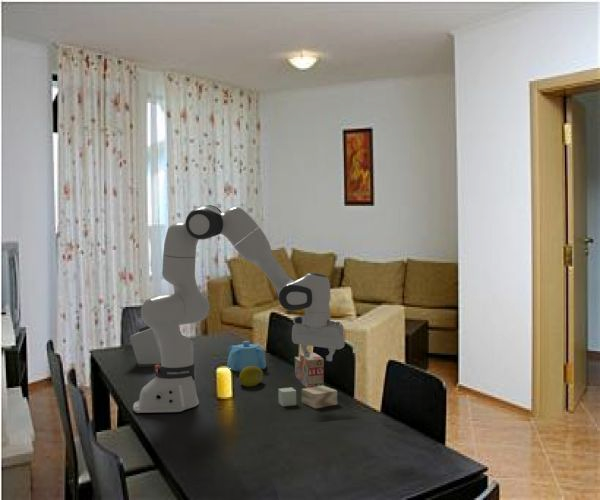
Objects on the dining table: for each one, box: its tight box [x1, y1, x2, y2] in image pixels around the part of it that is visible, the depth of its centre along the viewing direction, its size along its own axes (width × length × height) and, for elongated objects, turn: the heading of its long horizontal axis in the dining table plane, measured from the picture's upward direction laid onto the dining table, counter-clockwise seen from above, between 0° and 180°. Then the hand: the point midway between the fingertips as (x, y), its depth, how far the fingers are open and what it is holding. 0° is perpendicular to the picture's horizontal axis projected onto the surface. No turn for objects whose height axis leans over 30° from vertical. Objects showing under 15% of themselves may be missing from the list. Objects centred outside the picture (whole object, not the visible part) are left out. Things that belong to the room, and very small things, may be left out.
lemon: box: [238, 366, 264, 388], centre depth 239 cm, size 11×8×8 cm
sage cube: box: [277, 387, 297, 407], centre depth 213 cm, size 5×5×5 cm
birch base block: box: [301, 384, 338, 409], centre depth 213 cm, size 9×9×5 cm
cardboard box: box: [293, 352, 325, 388], centre depth 240 cm, size 21×6×12 cm, turn 14°
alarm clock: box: [129, 324, 161, 368], centre depth 277 cm, size 20×16×20 cm
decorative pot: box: [226, 340, 267, 373], centre depth 263 cm, size 16×16×14 cm
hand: (317, 359), depth 213 cm, fingers open, 8 cm apart
